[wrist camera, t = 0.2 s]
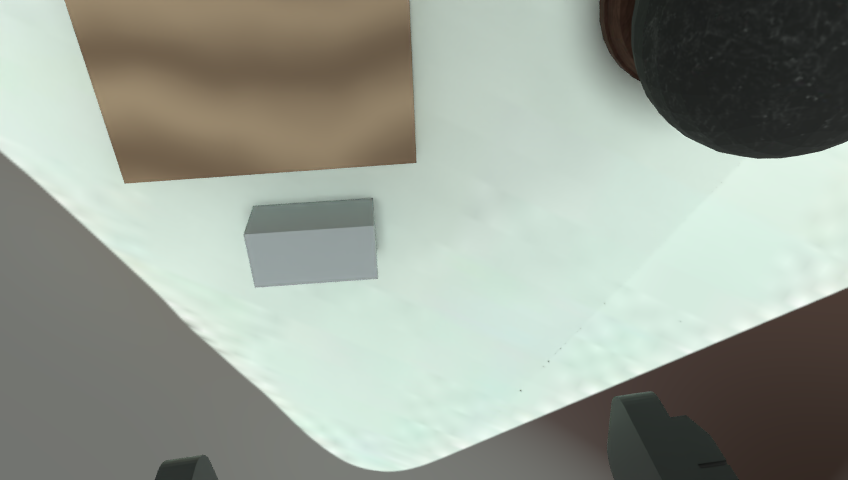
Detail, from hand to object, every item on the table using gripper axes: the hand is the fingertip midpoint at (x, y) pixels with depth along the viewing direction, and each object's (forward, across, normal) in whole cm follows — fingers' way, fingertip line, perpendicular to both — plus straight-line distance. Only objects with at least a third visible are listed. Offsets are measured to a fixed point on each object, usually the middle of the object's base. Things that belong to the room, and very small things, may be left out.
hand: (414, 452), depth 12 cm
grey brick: (+28, +6, +10) cm, 30 cm away
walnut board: (+28, +7, -2) cm, 29 cm away
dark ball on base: (+28, -19, -2) cm, 34 cm away
